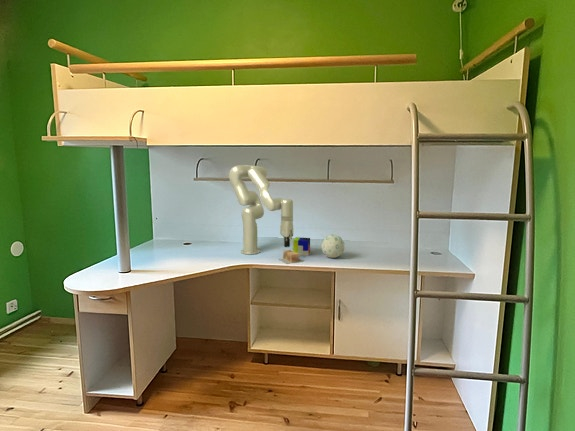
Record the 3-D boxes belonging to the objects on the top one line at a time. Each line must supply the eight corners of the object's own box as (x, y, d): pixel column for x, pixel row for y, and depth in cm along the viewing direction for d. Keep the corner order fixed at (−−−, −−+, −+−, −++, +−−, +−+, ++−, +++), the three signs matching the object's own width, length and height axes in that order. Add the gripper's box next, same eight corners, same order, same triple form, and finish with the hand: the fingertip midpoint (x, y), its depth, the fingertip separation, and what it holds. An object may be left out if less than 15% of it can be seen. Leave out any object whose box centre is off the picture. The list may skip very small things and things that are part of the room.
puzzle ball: (338, 253, 268) (339, 232, 265) (348, 259, 253) (348, 236, 251) (317, 255, 263) (318, 233, 261) (326, 261, 249) (326, 238, 247)
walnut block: (283, 250, 253) (291, 254, 244) (290, 249, 256) (298, 253, 246) (283, 258, 254) (291, 262, 245) (289, 257, 256) (298, 261, 247)
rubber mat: (278, 259, 252) (278, 259, 252) (295, 257, 258) (295, 256, 258) (286, 263, 242) (286, 263, 242) (303, 261, 248) (303, 261, 248)
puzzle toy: (307, 255, 262) (307, 241, 261) (293, 254, 264) (293, 240, 262) (309, 252, 272) (310, 237, 270) (295, 251, 274) (295, 237, 272)
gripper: (276, 217, 256) (276, 245, 259) (287, 220, 243) (287, 249, 246) (286, 216, 259) (286, 243, 262) (298, 219, 246) (297, 248, 249)
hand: (287, 246), depth 254 cm, fingers closed
